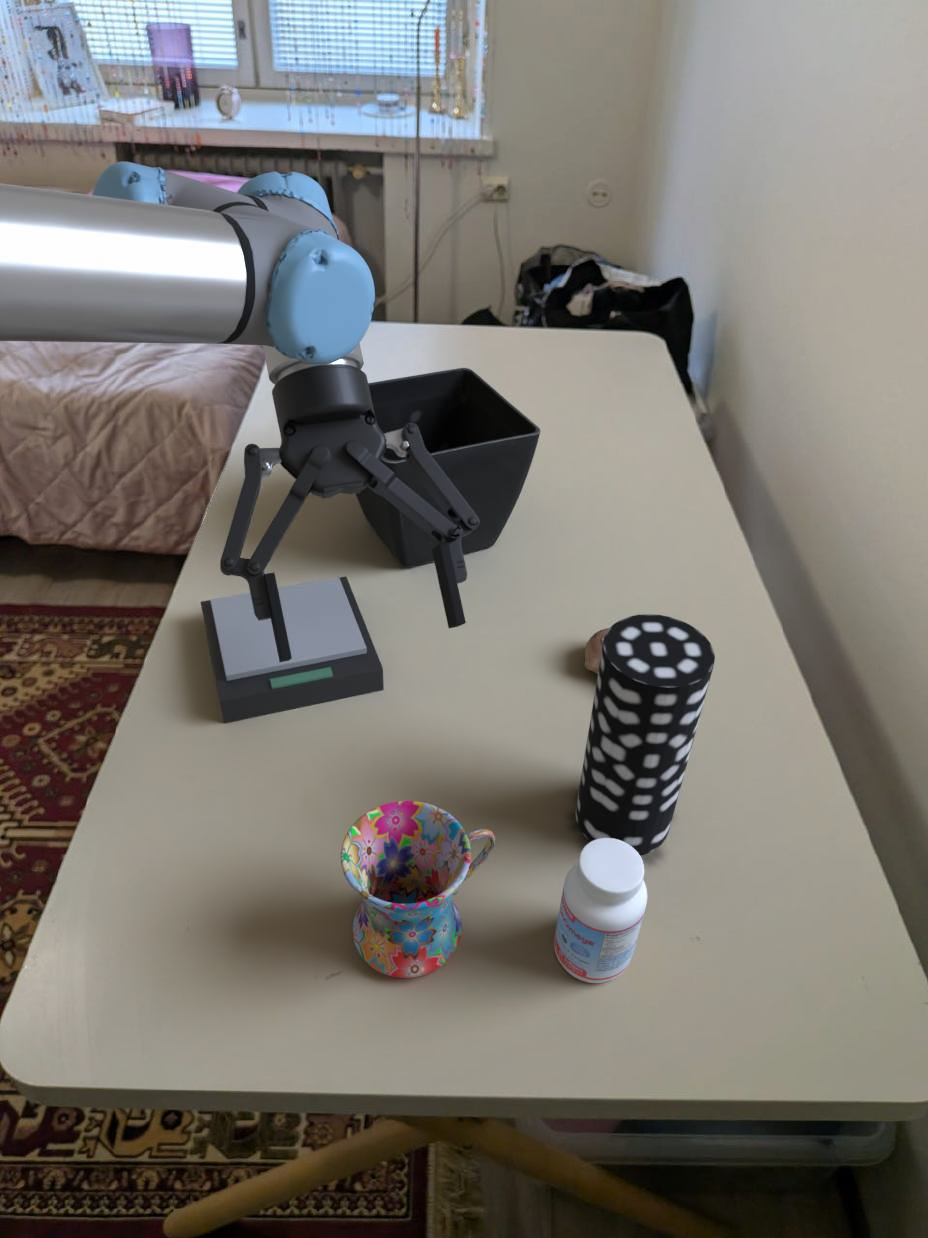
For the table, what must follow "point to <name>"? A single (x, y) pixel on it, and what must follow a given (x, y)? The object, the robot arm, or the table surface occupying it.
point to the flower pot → (451, 456)
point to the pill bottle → (601, 911)
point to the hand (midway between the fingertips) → (373, 643)
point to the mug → (408, 884)
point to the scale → (319, 643)
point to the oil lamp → (594, 650)
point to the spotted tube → (642, 728)
